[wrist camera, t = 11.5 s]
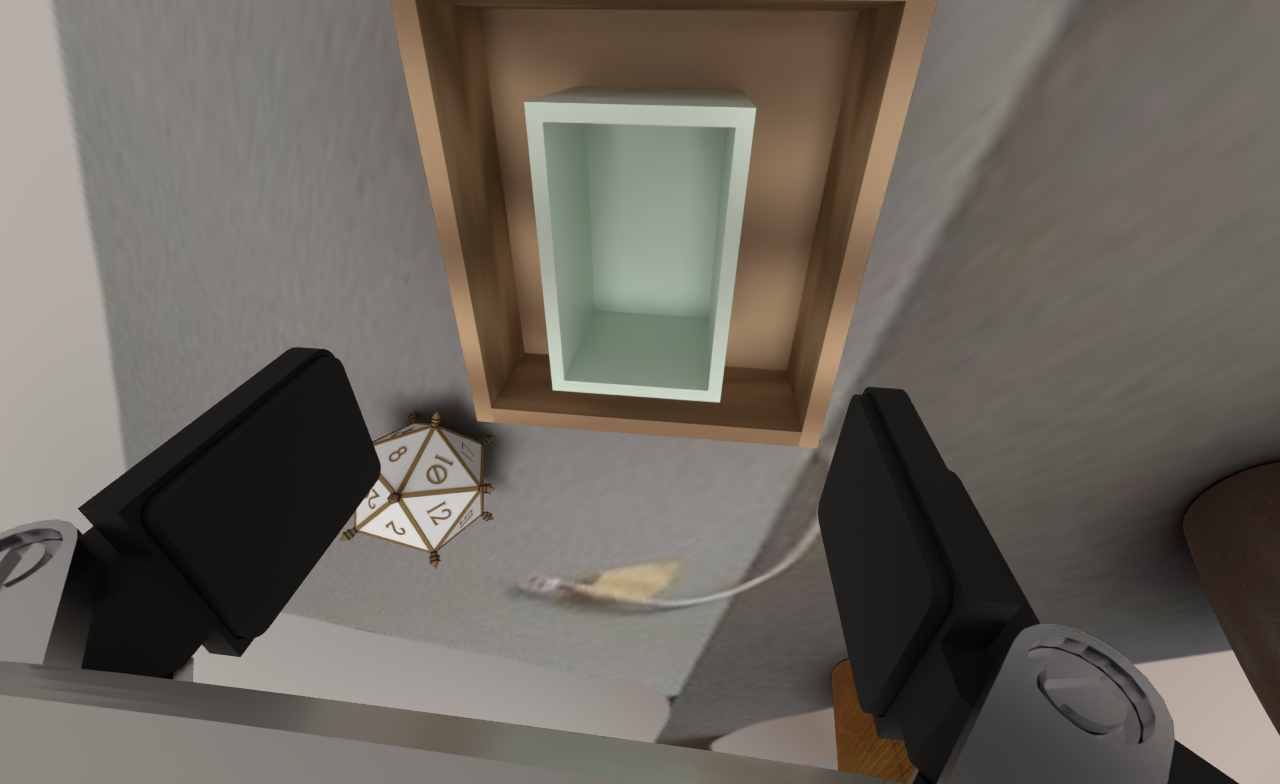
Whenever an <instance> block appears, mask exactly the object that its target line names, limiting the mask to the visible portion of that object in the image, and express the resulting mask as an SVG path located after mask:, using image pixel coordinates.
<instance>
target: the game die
mask: <svg viewBox="0 0 1280 784" xmlns="http://www.w3.org/2000/svg"><path fill="white" fill-rule="evenodd" d="M409 418H410V420H409V421H411V423H412V424H410V425H407V426H405V427H403V428H401V429H399V430H396V431H394V432H392V433H390V434H388V435H386V436H383V437H381V438H379V439H377V440H375V441H373V445H374V447H375V450H376V453H377V455H378V458H379V460H380V464H381V472H380V476H379V479H378V480H377V482H376V484H375V485H374V486H373V488H372V489H371V490H370V492H369V493H368V494H367V496H366V497H365V498H364V500H363V501H362V502H361V504H360V505H359V507H358V508H357V509H356V511H355V512H354V528H352V529H350V530H349V529H348V531H346V532H343V535H342V537H341V539H340V541H345V540H349V541H350V539H351V538H352V537H353V538H354V536H355V534H356V533H362V534H365V535H369V536H372V537H376V538H379V539H382V540H386V541H389V542H393V543H396V544H400V545H403V546H407V547H410V548H414V549H417V550H421V551H424V552H428V553H430V554H431V555H430V557H429V559H430V564H432V565H433V566H434V568H435V569H436V568H437V565H438V563H439V561H441V560H439V557H440V555H438V554H437V551H438V550H439V549H440V548H442V547H443V546H444V545H445V544H446V543H448V542H449V541H450V540H451V539H453V538H454V537H455V536H456V535H458V534H459V533H460V532H461V531H463V530H464V529H465V528H466V527H468V526H469V525H470V524H471V523H472V522H474V521H475V520H476V519H477V518H479V517H480V516H481V517H482V518H483V520H484V519H485V520H486V521H488V520H494V519H493V517H492V514H491V513H489V512H487V511H486V512H484V511H483V506H484V493H489V494H490V492H492V491H493V490H494V488H493V487H492V486H491V484H490V483H489V484H487V483H485V484H484V446H486V445H489V444H490V443H492V441H493V438H494V436H486V438H483V441H482V442H479V441H476V440H474V439H471V438H469V437H466V436H464V435H461V434H459V433H456V432H454V431H451V430H449V429H446V428H443V427H441V426H438V425H439V423H441V422H440V420H441V419H442V418H441V417H440V416H439V414H438V412H436V413H435V414H434V415H432V417H431V423H432V424H426V423H418V421H419V420H418V414H416V413H415V412H414V411H413V412H412V413H411V415H410V416H409Z"/></svg>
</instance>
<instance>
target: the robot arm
mask: <svg viewBox="0 0 1280 784" xmlns="http://www.w3.org/2000/svg"><path fill="white" fill-rule="evenodd" d="M380 472H381V464H380V460H379V458H378V455H377V453H376V450H375V447H374V445H373V442H372V440H371V437H370V434H369V432H368V429H367V427H366V424H365V421H364V419H363V416H362V414H361V411H360V408H359V406H358V403H357V401H356V398H355V395H354V393H353V390H352V388H351V385H350V382H349V380H348V377H347V375H346V372H345V369H344V367H343V365H342V363H341V361H340V360H339V359H337V358H335V357H334V355H333V354H332V353H331V352H330V351H328V350H325V349H315V348H301V347H295V348H291V349H289V350H287V351H286V352H284V353H283V354H282V355H281V356H279V357H278V358H277V359H275V360H274V361H273V362H271V363H270V364H269V365H267V366H266V367H265V368H263V369H262V370H261V371H259V372H258V373H257V374H255V375H254V376H253V377H251V378H250V379H249V380H247V381H246V382H245V383H243V384H242V385H241V386H239V387H238V388H237V389H235V390H234V391H233V392H231V393H230V394H229V395H228V396H226V397H225V398H224V399H222V400H221V401H220V402H218V403H217V404H216V405H214V406H213V407H212V408H210V409H209V410H208V411H206V412H205V413H204V414H202V415H201V416H200V417H198V418H197V419H196V420H194V421H193V422H192V423H190V424H189V425H188V426H186V427H185V428H184V429H182V430H181V431H180V432H179V433H177V434H176V435H175V436H173V437H172V438H171V439H169V440H168V441H167V442H165V443H164V444H163V445H161V446H160V447H159V448H157V449H156V450H155V451H153V452H152V453H151V454H149V455H148V456H147V457H145V458H144V459H143V460H141V461H140V462H139V463H137V464H136V465H135V466H133V467H132V468H131V469H130V470H128V471H127V472H126V473H124V474H123V475H122V476H120V477H119V478H118V479H116V480H115V481H114V482H112V483H111V484H110V485H108V486H107V487H106V488H104V489H103V490H102V491H100V492H99V493H98V494H96V495H95V496H94V497H93V498H91V499H90V500H88V501H87V502H86V503H85V504H83V505H82V506H81V507H79V508H78V509H79V510H80V511H81V513H82V514H83V515H84V516H85V517H86V518H87V519H88V520H89V521H90V522H91V523H92V524H93V527H92V528H91V529H89V530H88V531H87V532H86V533H84V534H82V533H81V532H80V531H79V530H78V529H77V528H76V527H75V526H74V525H73V524H72V523H70V522H67V521H61V520H46V521H38V522H33V523H29V524H25V525H21V526H18V527H15V528H12V529H10V530H7V531H4V532H2V533H0V784H904V783H899V782H895V781H890V780H885V779H880V778H875V777H870V776H866V775H861V774H856V773H849V772H843V771H836V770H830V769H824V768H817V767H811V766H804V765H798V764H792V763H785V762H779V761H772V760H766V759H759V758H753V757H747V756H740V755H733V754H727V753H720V752H714V751H706V750H699V749H692V748H685V747H677V746H670V745H663V744H655V743H648V742H641V741H634V740H626V739H619V738H612V737H604V736H597V735H589V734H583V733H575V732H568V731H560V730H554V729H546V728H539V727H532V726H524V725H517V724H509V723H502V722H494V721H486V720H479V719H472V718H464V717H457V716H449V715H442V714H434V713H426V712H419V711H412V710H404V709H396V708H389V707H381V706H373V705H366V704H358V703H351V702H343V701H335V700H327V699H320V698H313V697H305V696H297V695H290V694H281V693H273V692H266V691H258V690H250V689H242V688H234V687H226V686H219V685H211V684H202V683H195V682H193V663H194V661H193V660H194V658H193V654H194V653H195V652H196V651H197V649H198V648H199V647H200V646H201V645H203V646H204V647H205V648H206V649H207V650H208V652H209V653H213V654H221V655H229V656H236V657H241V656H242V654H243V653H244V652H245V650H246V649H247V647H248V646H249V645H250V643H251V642H252V641H253V639H254V638H256V637H258V636H260V635H262V634H263V633H264V632H265V631H266V630H267V629H268V628H269V627H270V625H271V624H272V623H273V621H274V620H275V619H276V617H277V616H278V614H279V613H280V612H281V611H282V609H283V608H284V606H285V605H286V604H287V602H288V601H289V600H290V598H291V597H292V596H293V594H294V593H295V592H296V590H297V589H298V588H299V586H300V585H301V584H302V582H303V581H304V579H305V578H306V577H307V575H308V574H309V573H310V571H311V570H312V569H313V567H314V566H315V565H316V563H317V562H318V561H319V559H320V558H321V557H322V555H323V554H324V552H325V551H326V550H327V548H328V547H329V546H330V544H331V543H332V542H333V540H334V539H335V538H336V536H337V535H338V534H339V532H340V531H341V529H342V528H343V527H344V525H345V524H346V523H347V521H348V520H349V519H350V517H351V516H352V515H353V513H354V512H355V511H356V509H357V508H358V507H359V505H360V504H361V502H362V501H363V500H364V498H365V497H366V496H367V494H368V493H369V492H370V490H371V489H372V488H373V486H374V485H375V484H376V482H377V480H378V479H379V476H380ZM818 518H819V525H820V529H821V534H822V538H823V543H824V547H825V552H826V556H827V561H828V565H829V570H830V574H831V579H832V584H833V588H834V593H835V597H836V602H837V606H838V611H839V615H840V620H841V624H842V629H843V634H844V638H845V643H846V647H847V652H848V656H849V661H850V665H851V670H852V674H853V679H854V683H855V688H856V693H857V697H858V701H859V705H860V707H861V709H862V711H863V712H864V713H867V714H872V715H873V719H874V723H875V727H876V731H877V736H878V738H885V739H892V740H900V741H904V743H905V747H906V751H907V754H908V758H909V761H910V762H911V763H912V764H913V765H914V766H915V767H916V768H915V770H914V772H913V773H912V775H911V777H910V779H909V781H908V783H907V784H1239V783H1237V782H1236V781H1234V780H1233V779H1231V778H1230V777H1229V776H1227V775H1226V774H1224V773H1223V772H1221V771H1220V770H1218V769H1217V768H1216V767H1214V766H1213V765H1211V764H1210V763H1208V762H1207V761H1205V760H1204V759H1202V758H1201V757H1199V756H1198V755H1196V754H1195V753H1194V752H1192V751H1191V750H1189V749H1188V748H1187V747H1185V746H1184V745H1182V744H1180V743H1179V742H1178V741H1176V740H1175V737H1174V725H1173V724H1174V723H1173V720H1172V717H1171V715H1170V713H1169V711H1168V709H1167V706H1166V704H1165V702H1164V700H1163V698H1162V697H1161V696H1160V695H1159V693H1158V692H1157V690H1156V689H1155V688H1154V687H1153V685H1152V684H1151V682H1150V681H1149V680H1148V678H1147V677H1145V675H1143V674H1142V673H1141V672H1140V671H1139V670H1138V669H1137V668H1136V667H1135V666H1134V665H1133V664H1132V663H1131V662H1130V661H1129V660H1128V659H1126V658H1125V657H1124V656H1122V655H1121V654H1119V653H1118V652H1116V651H1115V650H1114V649H1112V648H1111V647H1109V646H1108V645H1106V644H1105V643H1103V642H1102V641H1100V640H1097V639H1095V638H1093V637H1091V636H1089V635H1087V634H1085V633H1083V632H1081V631H1078V630H1075V629H1071V628H1068V627H1064V626H1060V625H1052V624H1040V622H1039V621H1038V619H1037V617H1036V615H1035V613H1034V612H1033V610H1032V608H1031V606H1030V604H1029V603H1028V601H1027V599H1026V597H1025V595H1024V594H1023V592H1022V590H1021V588H1020V586H1019V585H1018V583H1017V581H1016V579H1015V577H1014V576H1013V574H1012V572H1011V570H1010V568H1009V567H1008V565H1007V563H1006V561H1005V559H1004V558H1003V556H1002V554H1001V552H1000V550H999V549H998V547H997V545H996V543H995V541H994V540H993V538H992V536H991V534H990V532H989V531H988V529H987V527H986V525H985V523H984V522H983V520H982V518H981V516H980V514H979V513H978V511H977V509H976V507H975V505H974V504H973V502H972V500H971V498H970V496H969V495H968V493H967V491H966V489H965V487H964V486H963V484H962V482H961V480H960V479H959V478H958V476H957V475H956V474H955V473H954V472H952V471H950V470H948V469H947V467H946V465H945V463H944V461H943V459H942V457H941V456H940V454H939V452H938V450H937V448H936V446H935V444H934V443H933V441H932V439H931V437H930V435H929V433H928V432H927V430H926V428H925V426H924V424H923V422H922V420H921V419H920V417H919V415H918V413H917V411H916V409H915V407H914V406H913V404H912V402H911V400H910V398H909V396H908V395H907V393H906V392H905V391H904V390H902V389H891V388H876V387H868V388H866V389H865V390H864V392H863V394H862V395H856V394H855V395H853V397H852V398H851V401H850V404H849V407H848V410H847V414H846V417H845V420H844V423H843V427H842V430H841V433H840V436H839V440H838V443H837V446H836V449H835V453H834V456H833V459H832V462H831V466H830V469H829V472H828V476H827V479H826V482H825V485H824V489H823V492H822V495H821V498H820V502H819V508H818Z"/></svg>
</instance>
